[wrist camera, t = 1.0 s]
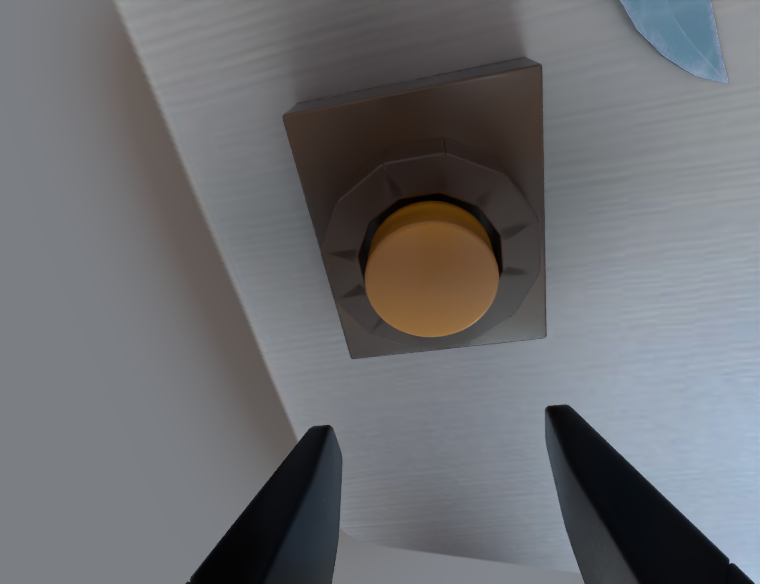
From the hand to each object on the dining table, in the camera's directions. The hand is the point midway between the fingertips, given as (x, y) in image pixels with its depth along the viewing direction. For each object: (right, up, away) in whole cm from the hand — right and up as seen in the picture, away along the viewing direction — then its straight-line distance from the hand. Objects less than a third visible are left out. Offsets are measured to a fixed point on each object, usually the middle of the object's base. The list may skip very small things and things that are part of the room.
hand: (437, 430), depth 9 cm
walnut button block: (+1, +6, +9) cm, 11 cm away
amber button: (+1, +4, +6) cm, 7 cm away
